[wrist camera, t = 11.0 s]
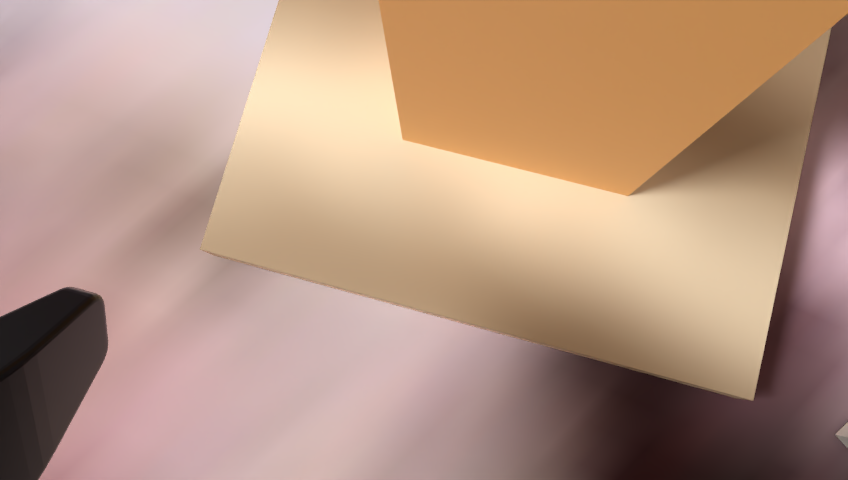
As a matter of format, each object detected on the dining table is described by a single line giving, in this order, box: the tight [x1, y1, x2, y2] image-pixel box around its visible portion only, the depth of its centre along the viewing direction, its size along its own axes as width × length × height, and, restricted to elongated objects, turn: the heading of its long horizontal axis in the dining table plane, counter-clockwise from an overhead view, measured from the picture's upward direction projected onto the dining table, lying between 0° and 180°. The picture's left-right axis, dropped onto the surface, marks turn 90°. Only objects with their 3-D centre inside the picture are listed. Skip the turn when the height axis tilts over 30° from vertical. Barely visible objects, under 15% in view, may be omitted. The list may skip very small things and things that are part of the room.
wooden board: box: [200, 0, 831, 401], centre depth 17 cm, size 12×12×1 cm
